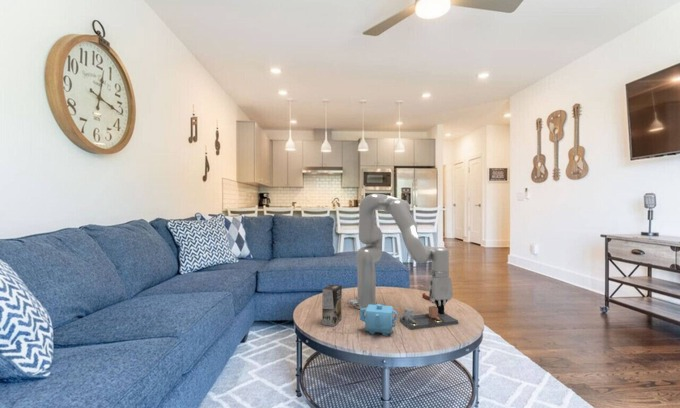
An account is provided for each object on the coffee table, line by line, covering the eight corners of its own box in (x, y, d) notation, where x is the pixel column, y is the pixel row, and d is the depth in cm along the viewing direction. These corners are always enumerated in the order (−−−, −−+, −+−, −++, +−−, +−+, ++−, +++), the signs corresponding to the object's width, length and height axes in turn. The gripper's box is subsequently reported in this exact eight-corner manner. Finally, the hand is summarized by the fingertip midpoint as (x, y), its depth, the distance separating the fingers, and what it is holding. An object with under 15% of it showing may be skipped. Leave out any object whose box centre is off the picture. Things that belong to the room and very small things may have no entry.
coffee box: (335, 326, 137) (335, 290, 137) (321, 324, 139) (321, 288, 139) (342, 319, 146) (342, 285, 146) (329, 317, 148) (329, 283, 148)
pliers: (430, 308, 163) (430, 303, 163) (421, 297, 184) (421, 292, 184) (452, 308, 163) (452, 303, 163) (441, 297, 183) (441, 292, 183)
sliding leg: (436, 320, 139) (436, 310, 139) (428, 316, 145) (428, 306, 145) (442, 320, 140) (442, 310, 140) (434, 315, 146) (434, 306, 146)
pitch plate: (410, 329, 134) (410, 315, 134) (399, 321, 143) (399, 307, 143) (458, 323, 140) (458, 309, 141) (444, 316, 150) (444, 303, 150)
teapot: (398, 325, 139) (398, 300, 139) (396, 342, 121) (396, 313, 121) (363, 322, 142) (363, 297, 142) (356, 338, 125) (356, 310, 125)
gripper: (431, 276, 140) (431, 317, 140) (459, 274, 144) (459, 314, 144) (422, 273, 147) (421, 312, 147) (449, 271, 151) (449, 309, 151)
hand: (440, 313), depth 145 cm, fingers closed
